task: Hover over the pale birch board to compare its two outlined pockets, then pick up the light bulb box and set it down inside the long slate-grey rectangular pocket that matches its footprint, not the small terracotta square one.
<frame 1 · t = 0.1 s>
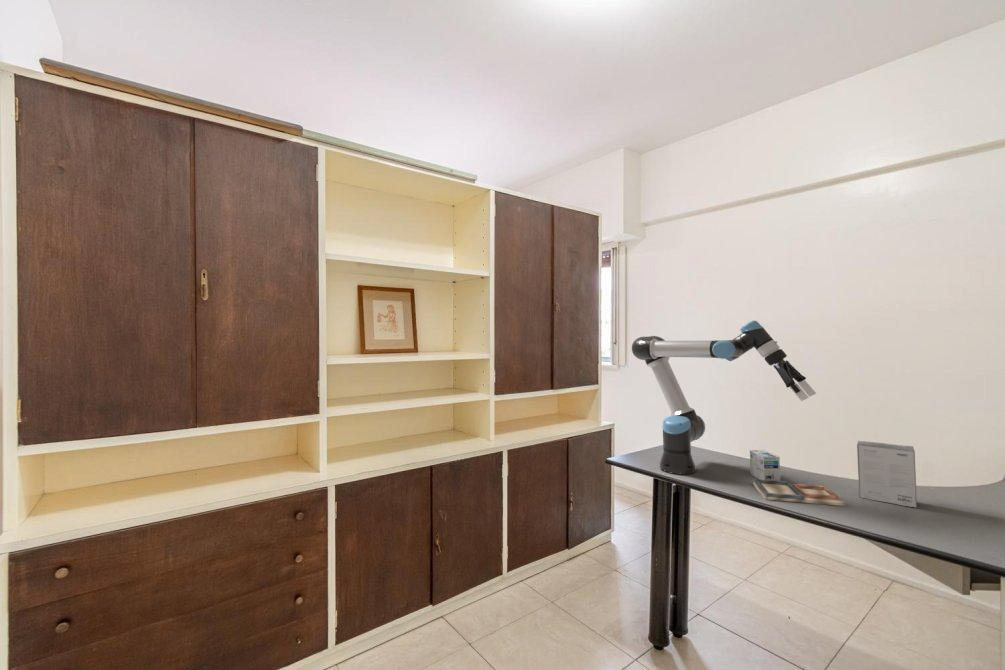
hand: (809, 397, 166), 36 cm above the table, tool tilted 35°, fingers open, 13 cm apart
light bulb box: (764, 478, 177), on the table
sorting board: (796, 494, 159), on the table
hard drive box: (886, 500, 152), on the table
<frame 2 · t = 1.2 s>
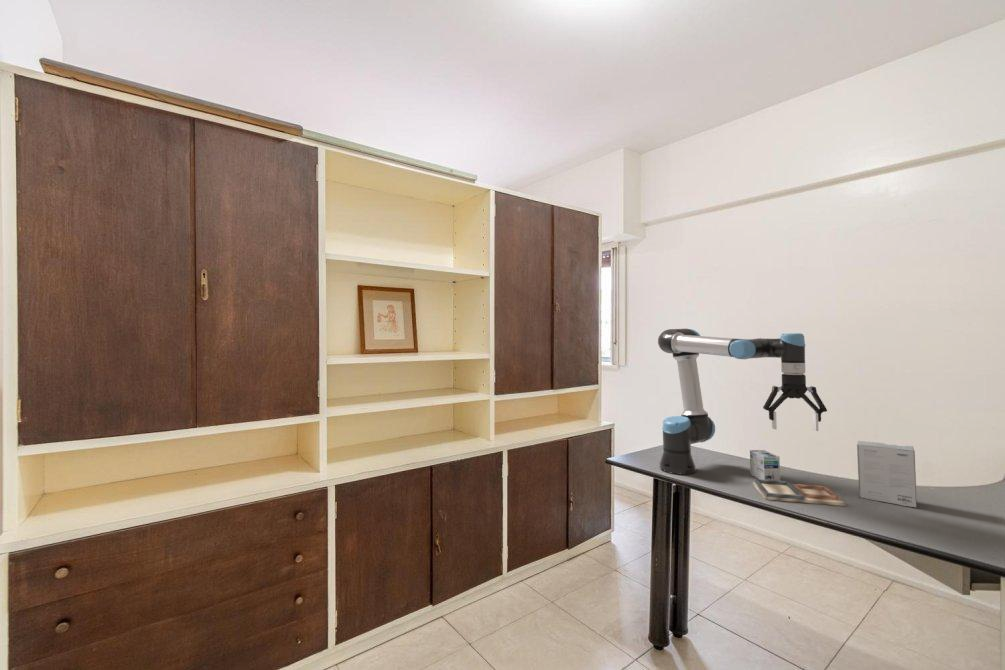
hand: (794, 429, 159), 25 cm above the table, tool pointing down, fingers open, 13 cm apart
nothing on the table moved.
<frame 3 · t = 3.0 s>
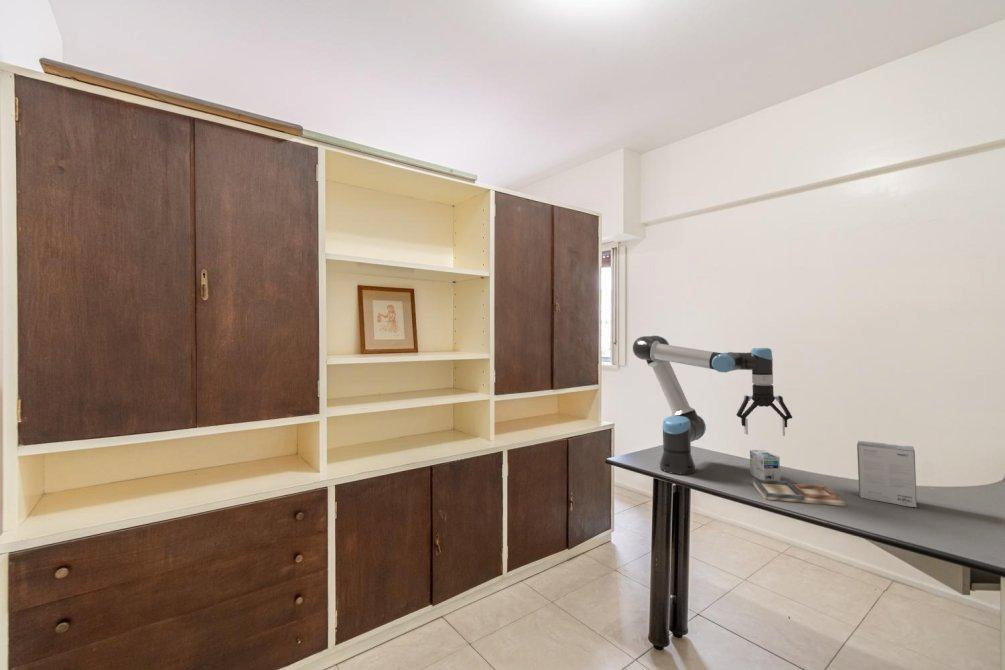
hand: (764, 434, 177), 19 cm above the table, tool pointing down, fingers open, 13 cm apart
nothing on the table moved.
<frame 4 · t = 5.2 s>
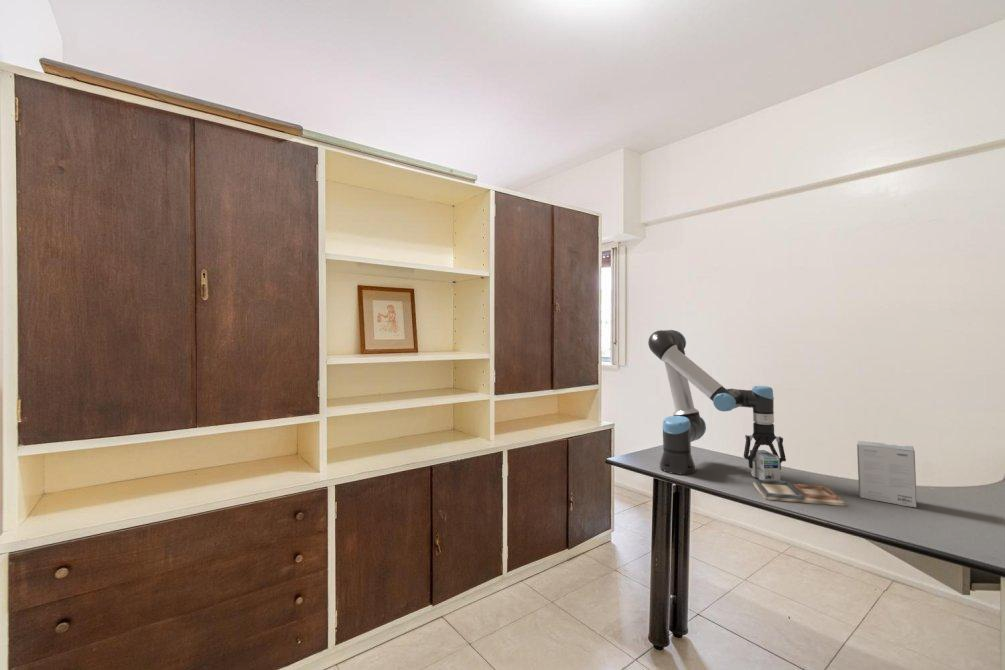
hand: (764, 476, 177), 1 cm above the table, tool pointing down, fingers closed on light bulb box, 8 cm apart
light bulb box: (764, 478, 177), on the table, touching gripper
everything else where it was.
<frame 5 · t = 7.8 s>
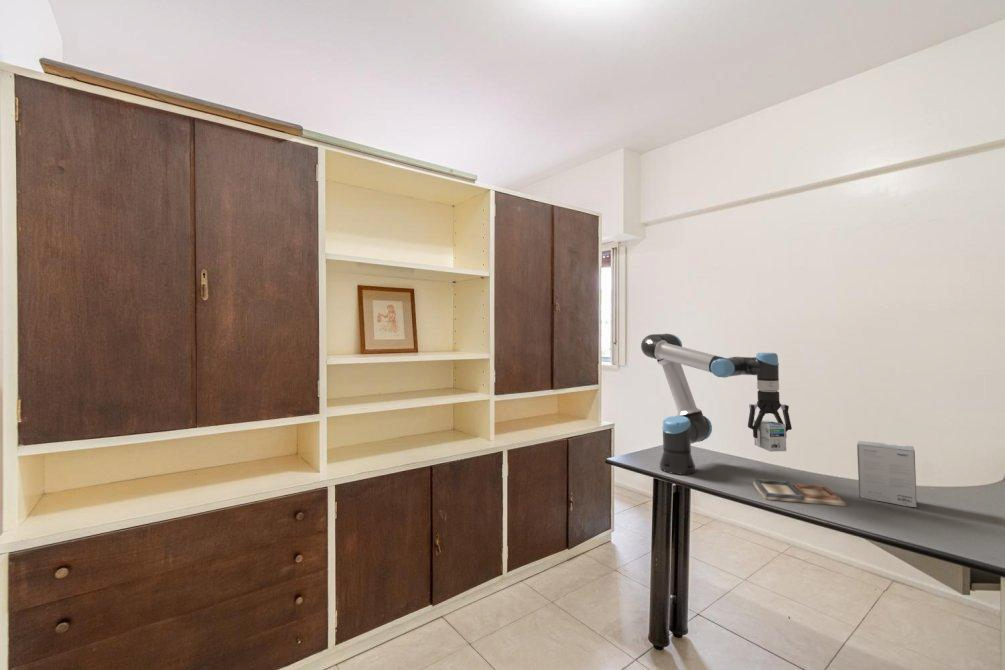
hand: (769, 446, 170), 15 cm above the table, tool pointing down, fingers closed on light bulb box, 8 cm apart
light bulb box: (769, 448, 170), point 14 cm above the table, touching gripper
everything else where it was.
when the fingers open (4 cm above the table, at t = 10.9 s): light bulb box drops 2 cm, resting on sorting board.
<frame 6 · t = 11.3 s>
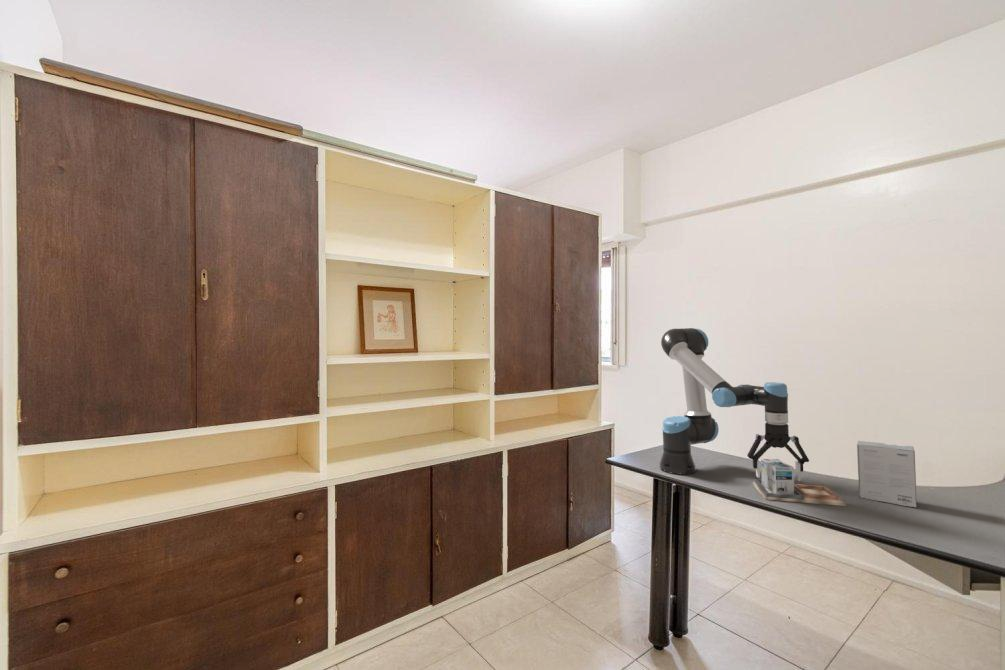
hand: (777, 478, 161), 6 cm above the table, tool pointing down, fingers open, 13 cm apart
light bulb box: (777, 490, 161), point 1 cm above the table, touching sorting board
everything else where it was.
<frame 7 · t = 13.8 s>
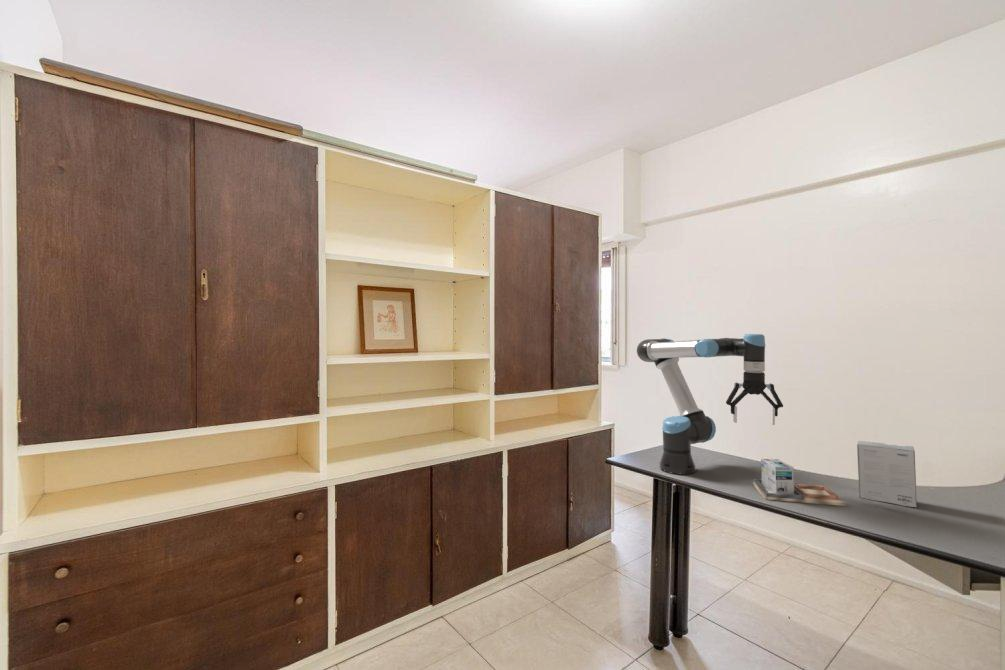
hand: (753, 423, 172), 25 cm above the table, tool pointing down, fingers open, 13 cm apart
nothing on the table moved.
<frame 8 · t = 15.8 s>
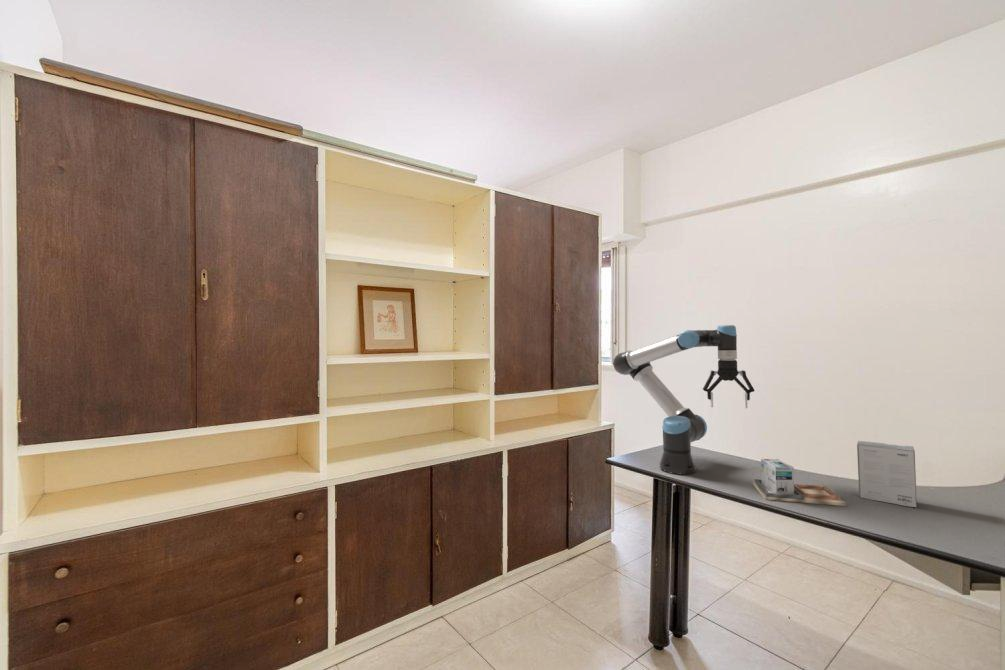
hand: (728, 407, 186), 29 cm above the table, tool pointing down, fingers open, 13 cm apart
nothing on the table moved.
at the end: light bulb box 0.3 cm from the target spot on the sorting board, point 0.8 cm above the sorting board's base; light bulb box tilted 0°; the gripper is holding nothing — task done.
